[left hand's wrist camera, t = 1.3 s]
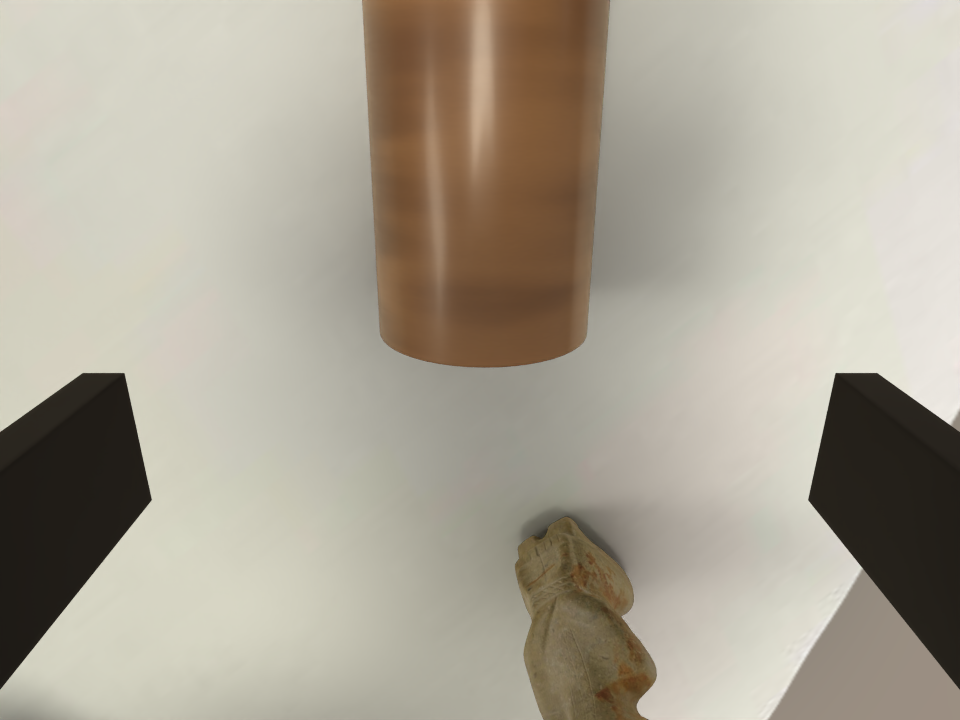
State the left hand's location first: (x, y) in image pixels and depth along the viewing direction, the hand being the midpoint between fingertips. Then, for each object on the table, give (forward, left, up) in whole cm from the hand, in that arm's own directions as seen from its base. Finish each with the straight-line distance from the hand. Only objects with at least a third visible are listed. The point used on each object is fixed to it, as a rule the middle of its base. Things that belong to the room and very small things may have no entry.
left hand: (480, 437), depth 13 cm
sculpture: (-17, -10, -21) cm, 29 cm away
